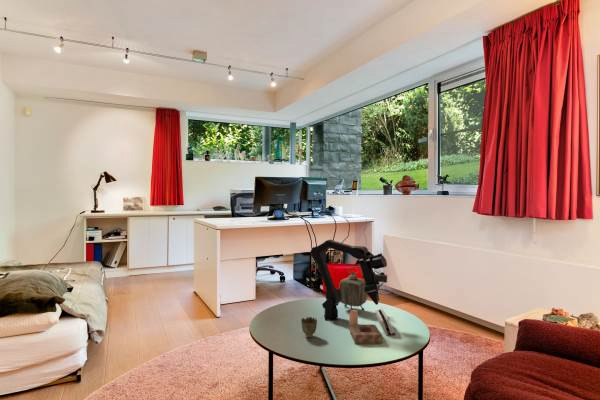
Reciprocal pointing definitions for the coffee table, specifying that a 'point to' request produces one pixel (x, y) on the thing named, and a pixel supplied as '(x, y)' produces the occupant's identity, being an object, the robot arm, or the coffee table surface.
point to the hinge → (384, 322)
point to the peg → (353, 317)
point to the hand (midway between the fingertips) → (377, 302)
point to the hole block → (365, 334)
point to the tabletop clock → (353, 290)
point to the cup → (309, 326)
